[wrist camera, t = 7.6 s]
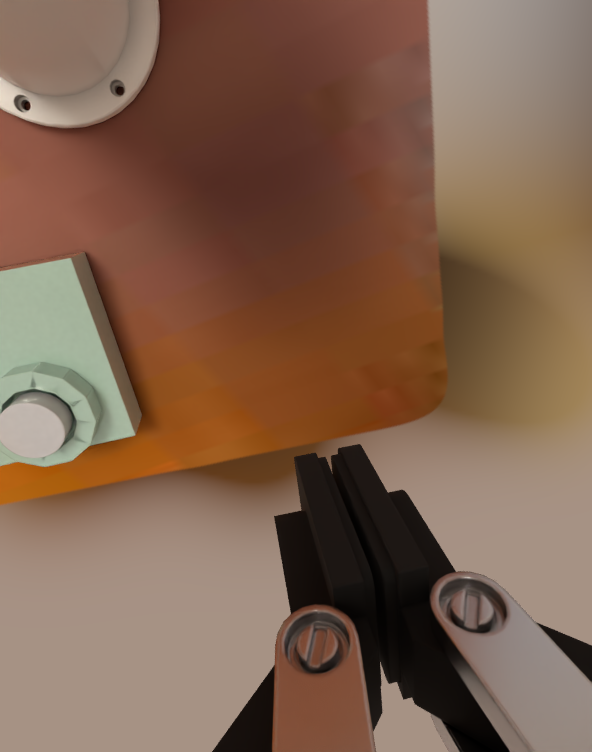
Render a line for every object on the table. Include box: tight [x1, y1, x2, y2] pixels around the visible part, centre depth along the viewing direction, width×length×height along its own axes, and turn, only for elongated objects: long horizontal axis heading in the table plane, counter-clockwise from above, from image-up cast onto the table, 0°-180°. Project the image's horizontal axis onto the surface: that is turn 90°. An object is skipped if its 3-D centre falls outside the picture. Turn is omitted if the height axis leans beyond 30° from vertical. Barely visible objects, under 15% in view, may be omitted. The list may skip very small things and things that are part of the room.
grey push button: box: [0, 392, 73, 458], centre depth 29 cm, size 4×4×2 cm
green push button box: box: [0, 252, 142, 467], centre depth 30 cm, size 13×10×5 cm
